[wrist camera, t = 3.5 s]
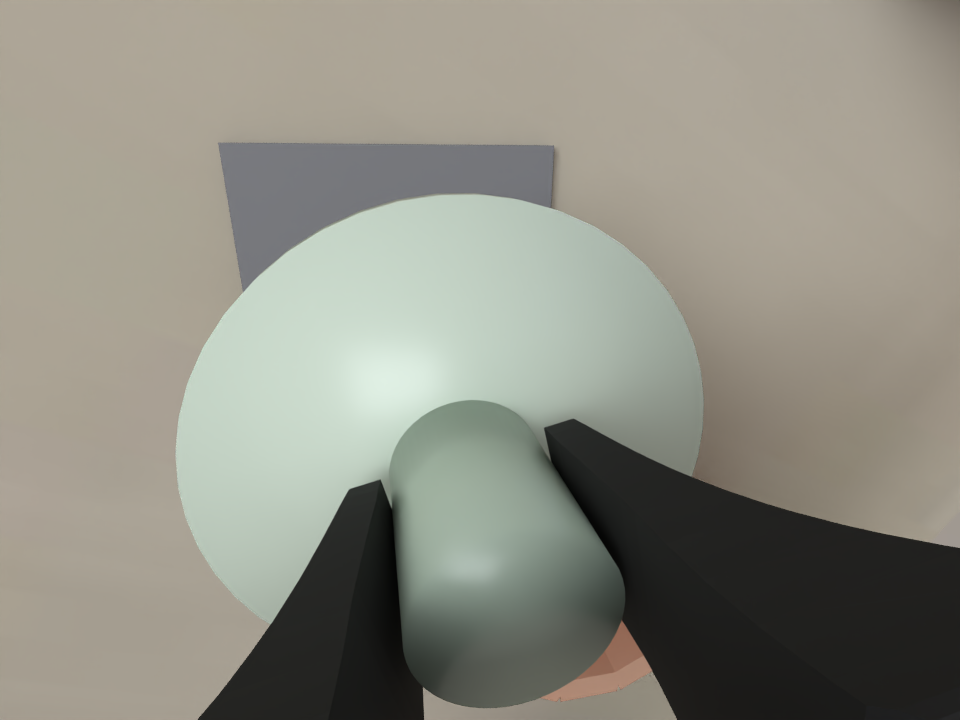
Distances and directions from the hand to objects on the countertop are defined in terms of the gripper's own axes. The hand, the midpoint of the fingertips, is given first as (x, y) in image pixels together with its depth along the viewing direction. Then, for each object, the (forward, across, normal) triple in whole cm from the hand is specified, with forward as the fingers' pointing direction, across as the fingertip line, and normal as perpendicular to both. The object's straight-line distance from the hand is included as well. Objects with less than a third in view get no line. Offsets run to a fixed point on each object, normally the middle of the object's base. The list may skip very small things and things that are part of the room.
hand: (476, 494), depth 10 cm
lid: (+2, 0, 0) cm, 2 cm away
